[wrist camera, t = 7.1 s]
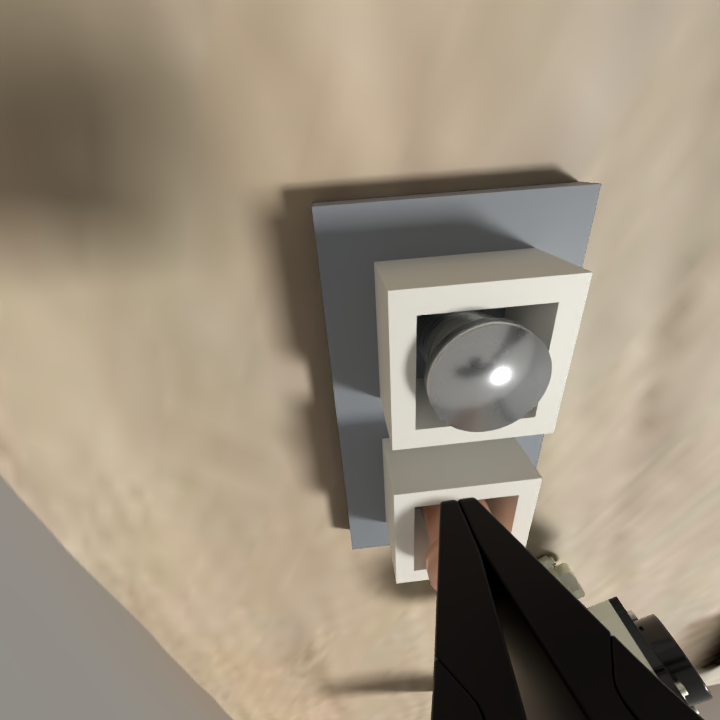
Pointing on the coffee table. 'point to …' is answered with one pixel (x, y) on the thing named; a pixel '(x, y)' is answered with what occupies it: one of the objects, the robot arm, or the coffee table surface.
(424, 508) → the plug terracotta
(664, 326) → the coffee table surface
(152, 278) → the coffee table surface
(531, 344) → the plug metal
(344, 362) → the board
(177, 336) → the coffee table surface
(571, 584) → the pneumatic valve
